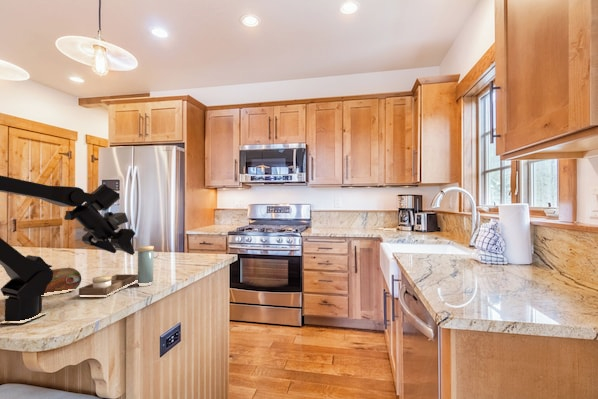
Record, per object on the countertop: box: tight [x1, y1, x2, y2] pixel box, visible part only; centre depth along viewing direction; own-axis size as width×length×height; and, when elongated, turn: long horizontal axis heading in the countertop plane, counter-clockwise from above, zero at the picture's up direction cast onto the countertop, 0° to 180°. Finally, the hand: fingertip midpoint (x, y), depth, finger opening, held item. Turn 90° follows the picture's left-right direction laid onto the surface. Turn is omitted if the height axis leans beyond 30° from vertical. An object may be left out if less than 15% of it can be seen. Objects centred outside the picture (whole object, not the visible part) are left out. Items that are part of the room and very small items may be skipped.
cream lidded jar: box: [92, 275, 113, 288], centre depth 93 cm, size 5×5×5 cm
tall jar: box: [137, 245, 155, 284], centre depth 103 cm, size 5×5×14 cm
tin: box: [45, 267, 82, 293], centre depth 92 cm, size 15×3×8 cm, turn 129°
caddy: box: [78, 273, 138, 296], centre depth 97 cm, size 18×9×3 cm, turn 179°
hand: (124, 253), depth 96 cm, fingers open, 9 cm apart
